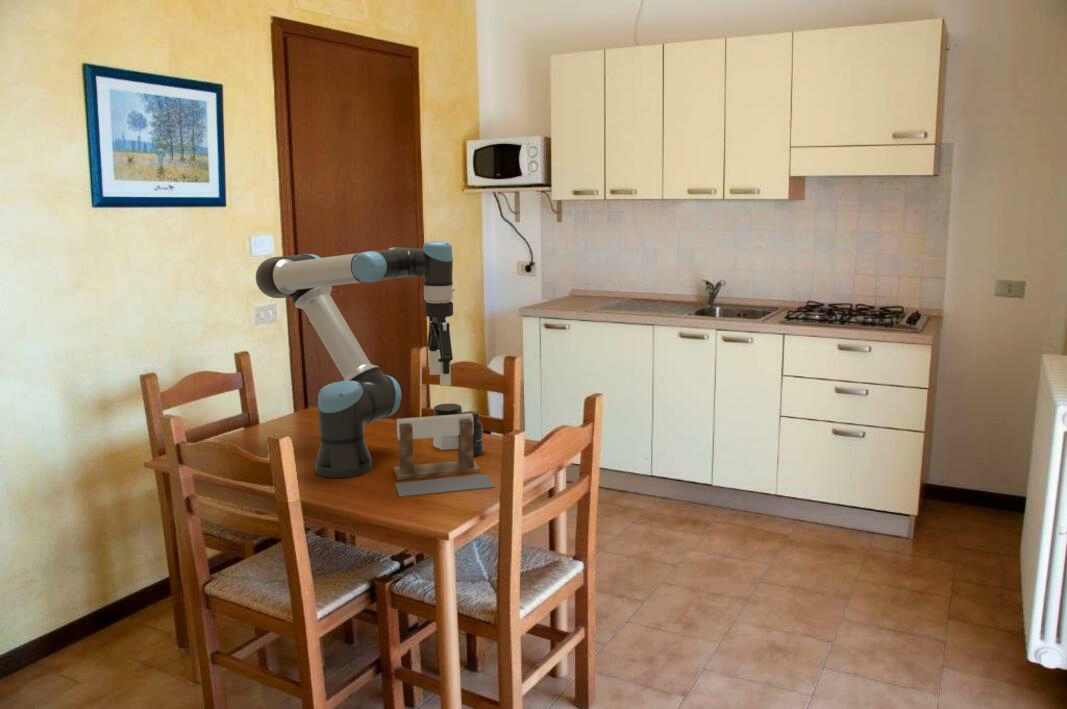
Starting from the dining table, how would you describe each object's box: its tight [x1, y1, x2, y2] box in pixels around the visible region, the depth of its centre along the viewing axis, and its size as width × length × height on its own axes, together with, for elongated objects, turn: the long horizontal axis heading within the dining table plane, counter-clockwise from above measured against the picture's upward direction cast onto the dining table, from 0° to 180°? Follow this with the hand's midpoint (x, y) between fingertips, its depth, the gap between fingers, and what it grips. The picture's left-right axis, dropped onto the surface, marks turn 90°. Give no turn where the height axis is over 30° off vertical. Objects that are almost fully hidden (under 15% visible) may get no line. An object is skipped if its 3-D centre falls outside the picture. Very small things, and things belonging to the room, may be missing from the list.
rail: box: [396, 413, 474, 441], centre depth 225 cm, size 20×3×5 cm, turn 105°
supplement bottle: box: [462, 410, 484, 457], centre depth 242 cm, size 7×7×12 cm
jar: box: [432, 403, 463, 451], centre depth 249 cm, size 9×8×12 cm
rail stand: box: [393, 420, 481, 481], centre depth 226 cm, size 22×8×14 cm, turn 105°
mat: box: [394, 473, 495, 498], centre depth 216 cm, size 24×10×1 cm, turn 105°
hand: (439, 380), depth 226 cm, fingers open, 13 cm apart
